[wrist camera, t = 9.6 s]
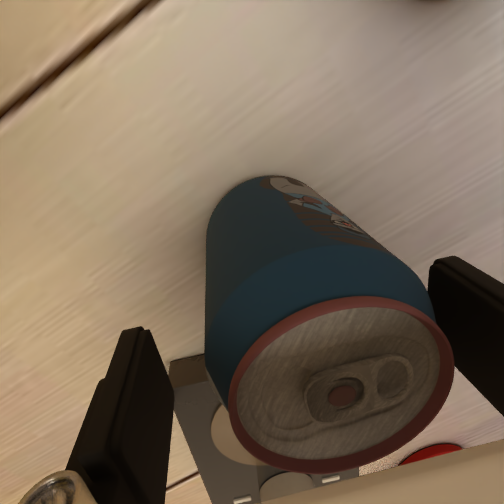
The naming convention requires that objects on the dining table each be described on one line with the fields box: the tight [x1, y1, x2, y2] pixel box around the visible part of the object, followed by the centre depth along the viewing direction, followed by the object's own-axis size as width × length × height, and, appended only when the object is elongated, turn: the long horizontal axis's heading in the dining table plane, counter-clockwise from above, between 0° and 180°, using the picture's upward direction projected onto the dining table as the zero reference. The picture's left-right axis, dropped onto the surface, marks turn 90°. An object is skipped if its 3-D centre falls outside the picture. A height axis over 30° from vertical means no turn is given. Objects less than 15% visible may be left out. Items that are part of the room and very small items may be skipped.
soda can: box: [204, 176, 454, 474], centre depth 13 cm, size 7×7×12 cm
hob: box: [168, 354, 359, 504], centre depth 25 cm, size 17×12×3 cm
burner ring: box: [211, 403, 268, 466], centre depth 22 cm, size 8×8×1 cm
